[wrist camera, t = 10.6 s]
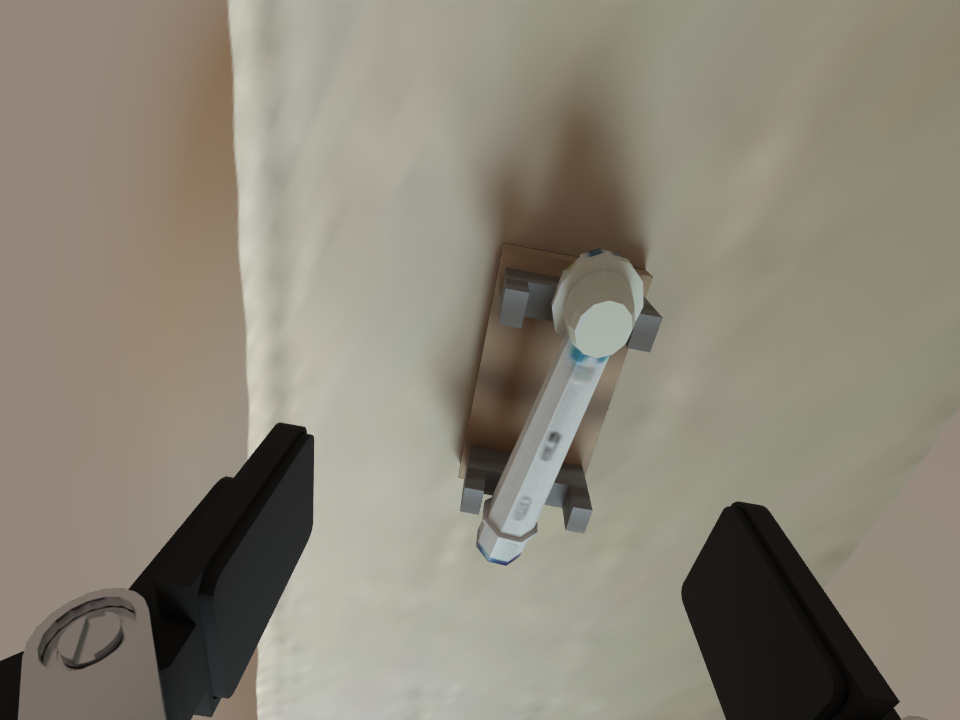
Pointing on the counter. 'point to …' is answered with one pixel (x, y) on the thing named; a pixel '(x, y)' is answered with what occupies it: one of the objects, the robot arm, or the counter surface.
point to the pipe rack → (534, 381)
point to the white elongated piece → (562, 394)
